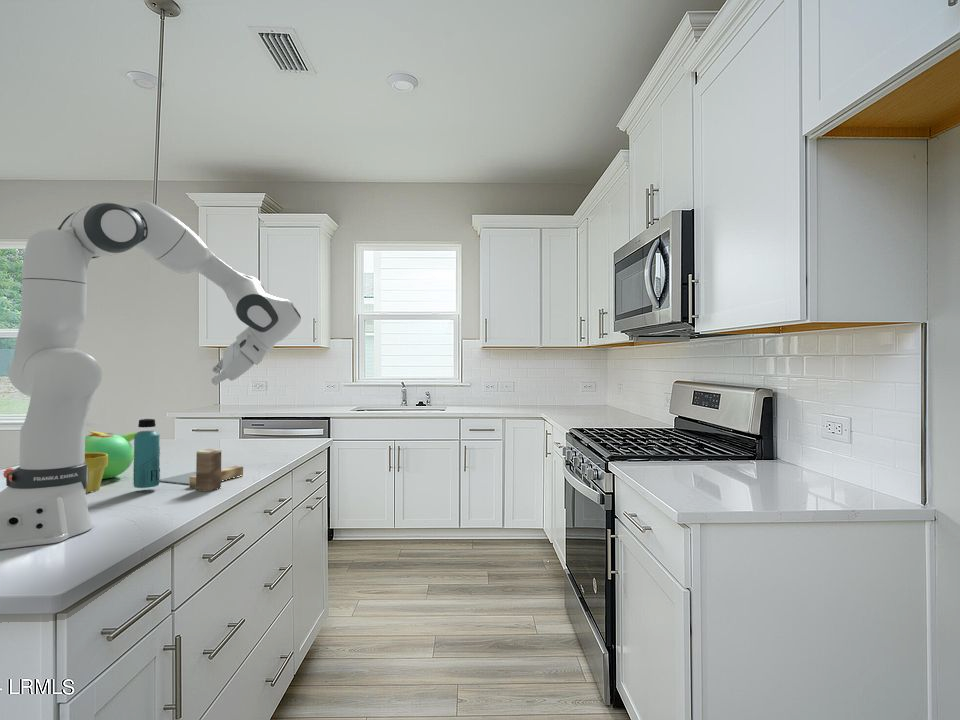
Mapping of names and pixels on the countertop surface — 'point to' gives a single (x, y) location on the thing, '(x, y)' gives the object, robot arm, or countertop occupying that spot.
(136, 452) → the beverage bottle
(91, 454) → the plant pot
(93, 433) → the green rounded body
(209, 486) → the walnut block
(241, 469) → the oak rail
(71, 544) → the countertop surface
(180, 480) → the grey mat
